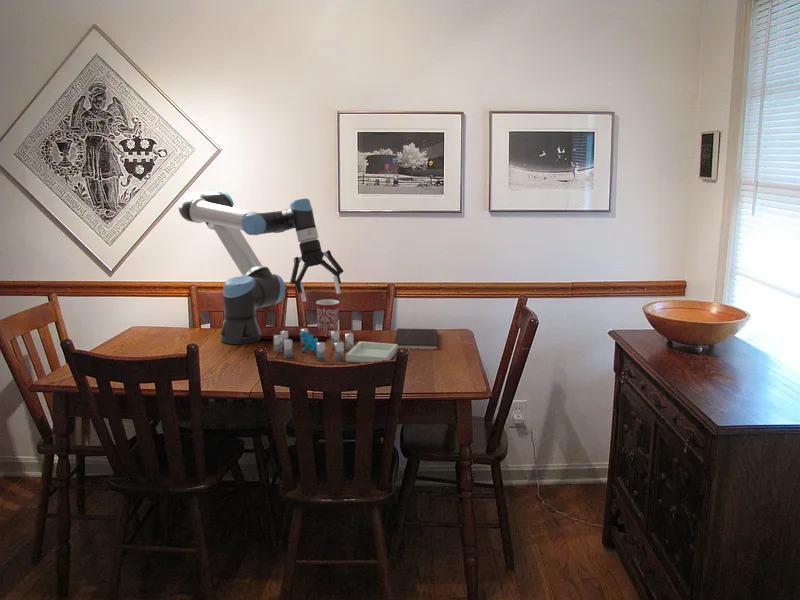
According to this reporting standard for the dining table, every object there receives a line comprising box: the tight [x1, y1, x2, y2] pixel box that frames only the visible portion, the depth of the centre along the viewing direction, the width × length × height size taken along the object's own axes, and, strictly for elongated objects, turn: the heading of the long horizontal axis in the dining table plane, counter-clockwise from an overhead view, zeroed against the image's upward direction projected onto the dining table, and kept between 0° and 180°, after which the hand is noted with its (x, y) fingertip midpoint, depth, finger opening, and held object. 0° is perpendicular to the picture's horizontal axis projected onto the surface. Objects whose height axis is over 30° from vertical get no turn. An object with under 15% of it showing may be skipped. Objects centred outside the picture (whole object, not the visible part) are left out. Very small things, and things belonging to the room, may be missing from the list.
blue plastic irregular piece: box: [301, 331, 319, 354], centre depth 259 cm, size 11×6×10 cm
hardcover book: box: [393, 327, 439, 350], centre depth 276 cm, size 16×23×2 cm
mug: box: [315, 298, 340, 339], centre depth 282 cm, size 13×9×14 cm
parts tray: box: [345, 340, 399, 364], centre depth 255 cm, size 14×17×2 cm
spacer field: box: [272, 327, 354, 362], centre depth 259 cm, size 27×19×6 cm
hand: (321, 297), depth 266 cm, fingers open, 13 cm apart
